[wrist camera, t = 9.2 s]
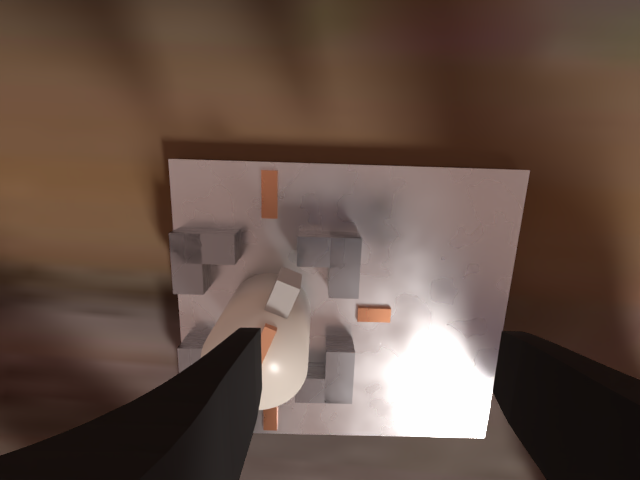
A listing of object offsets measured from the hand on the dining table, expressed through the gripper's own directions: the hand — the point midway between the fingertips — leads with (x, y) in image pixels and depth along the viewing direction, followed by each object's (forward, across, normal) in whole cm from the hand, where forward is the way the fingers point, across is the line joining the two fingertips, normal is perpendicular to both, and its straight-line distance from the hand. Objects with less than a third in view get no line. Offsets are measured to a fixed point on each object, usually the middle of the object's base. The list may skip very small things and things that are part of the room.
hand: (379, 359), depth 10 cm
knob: (+8, +4, +2) cm, 10 cm away
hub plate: (+10, 0, +2) cm, 10 cm away
